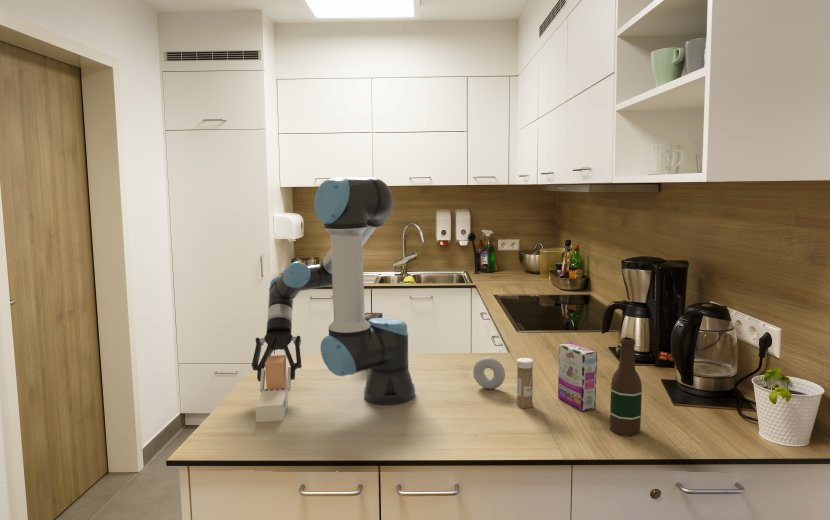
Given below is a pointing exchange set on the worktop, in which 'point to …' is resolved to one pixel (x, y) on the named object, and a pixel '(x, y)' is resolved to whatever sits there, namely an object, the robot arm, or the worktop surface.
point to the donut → (497, 369)
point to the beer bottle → (626, 393)
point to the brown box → (276, 372)
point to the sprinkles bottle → (524, 382)
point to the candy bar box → (577, 376)
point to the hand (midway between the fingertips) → (275, 390)
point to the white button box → (272, 405)
